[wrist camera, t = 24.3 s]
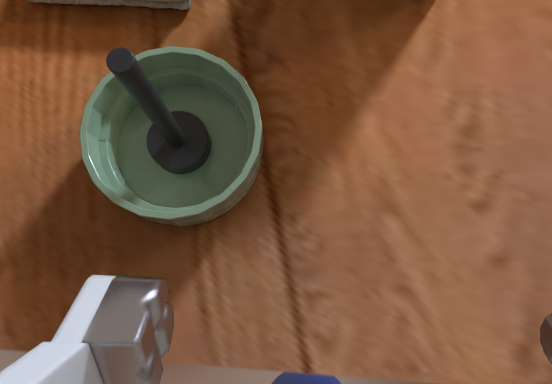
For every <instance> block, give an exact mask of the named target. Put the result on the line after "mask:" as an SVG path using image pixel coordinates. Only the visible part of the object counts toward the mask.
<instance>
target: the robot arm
mask: <svg viewBox="0 0 552 384" xmlns="http://www.w3.org/2000/svg"><path fill="white" fill-rule="evenodd" d="M168 294H169V286H168V282H167V279H164V278H151V277H133V276H106V275H92V276H91V277H89V278H88V279H87V280H86V281H85V283H84V285H83V286H82V288H81V290H80V292H79V293H78V295H77V297H76V298H75V300H74V302H73V304H72V305H71V307H70V309H69V311H68V312H67V314H66V316H65V318H64V319H63V321H62V323H61V325H60V326H59V328H58V330H57V332H56V333H55V335H54V337H53V339H52V340H51V342H42V343H40V344H39V345H38V346H36V347H35V348H33V349H32V350H31V351H29V352H28V353H26V354H25V355H23V356H22V357H21V358H19V359H18V360H17V361H15V362H14V363H12V364H11V365H9V366H8V367H7V368H5V369H4V370H2V371H1V372H0V384H159V383H160V380H161V376H162V373H163V368H162V363H161V357H163V356H164V355H165V354H166V353H167V352H168V351H169V348H170V344H171V340H172V334H173V326H174V314H173V308H172V305H171V304H170V303H168V302H167V298H168ZM540 341H541V345H542V348H543V351H544V353H545V354H546V356H547V358H548V360H549V361H550V363H551V364H552V313H551V314H550V315H548V316H547V317H545V319H544V321H543V323H542V325H541V327H540Z"/></svg>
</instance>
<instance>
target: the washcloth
mask: <svg viewBox="0 0 552 384" xmlns="http://www.w3.org/2000/svg"><path fill="white" fill-rule="evenodd" d="M27 1H28V2H30V1H31V2H35V3H37V2H40V3H41V2H44V3H50V4H51V3H52V4H53V3H59V4H76V5H78V4H83V5H84V4H86V5H87V4H88V5H93V4H95V5H100V6H102V5H103V6H104V5H117V6H119V5H121V4H123V5H126V6H133V7H134V6H146V7H150V8H156V9H157V8H164V9H166V8H174V9H180V10H186V9H191V0H27Z"/></svg>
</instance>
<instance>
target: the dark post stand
mask: <svg viewBox="0 0 552 384" xmlns="http://www.w3.org/2000/svg"><path fill="white" fill-rule="evenodd" d="M106 62H107V66H108V68H109V69H110V70H111V72H112V73H113V74H114V75H115V77H116V78H117V79H118V80H119V82H120V83H121V84H122V85H123V87H124V88H125V89H126V90H127V92H128V93H129V94H130V95H131V97H132V98H133V99H134V100H135V102H136V103H137V104H138V105H139V107H140V108H141V109H142V110H143V112H144V113H145V114H146V115H147V117H148V118H149V119H150V120H151V122H152V123H153V124H152V126H151V127H150V129H149V132H148V135H147V148H148V151H149V154H150V155H151V157H152V158H153V159H154V161H155V162H156V163H158V164H159V165H160V166H161V167H162V168H163V169H164V170H166V171H168V172H170V173H174V174H187V173H191V172H193V171H195V170H197V169H198V168H200V167H201V166H202V165H203V164H204V163H205V162H206V160H207V159H208V157H209V154H210V150H211V140H210V136H209V134H208V131H207V129H206V127H205V125H204V124H203V122H202V121H201V120H200V119H199V118H198V117H197V116H195V115H193V114H191V113H189V112H185V111H172V112H170V111H169V110H168V108H167V106H166V105H165V103H164V102H163V100H162V99H161V97H160V95H159V94H158V92H157V91H156V89H155V88H154V86H153V85H152V83H151V81H150V80H149V78H148V77H147V75H146V74H145V72H144V71H143V69H142V67H141V66H140V64H139V63H138V61H137V60H136V58H135V57H134V55H133V53H132V52H131V51H130V50H128V49H126V48H116V49H114V50H112V51H111V52H110V53H109V54H108V56H107V60H106Z"/></svg>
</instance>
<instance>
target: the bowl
mask: <svg viewBox="0 0 552 384" xmlns="http://www.w3.org/2000/svg"><path fill="white" fill-rule="evenodd" d="M134 57H135V58H136V60H137V61H138V63H139V64H140V66H141V67H142V69H143V71H144V72H145V74H146V75H147V77H148V78H149V80H150V81H151V83H152V85H153V86H154V88H155V89H156V91H157V92H158V94H159V95H160V97H161V99H162V100H163V102H164V103H165V105H166V106H167V108H168V110H169V111H170V112H172V111H185V112H189V113H191V114H193V115H195V116H197V117H198V118H199V119H200V120H201V121H202V122H203V124H204V125H205V127H206V129H207V131H208V134H209V136H210V140H211V150H210V154H209V157H208V159H207V160H206V162H205V163H204V164H203V165H202V166H201V167H200V168H198V169H197V170H195V171H193V172H191V173H187V174H174V173H170V172H168V171H166V170H164V169H163V168H162V167H161V166H160V165H159V164H158V163H156V162H155V161H154V159H153V158H152V157H151V155H150V154H149V151H148V148H147V135H148V132H149V129H150V127H151V126H152V124H153V123H152V122H151V120H150V119H149V118H148V117H147V115H146V114H145V113H144V112H143V110H142V109H141V108H140V107H139V105H138V104H137V103H136V102H135V100H134V99H133V98H132V97H131V95H130V94H129V93H128V92H127V90H126V89H125V88H124V87H123V85H122V84H121V83H120V82H119V80H118V79H117V78H116V77H115V75H114V74H113V73H112V72H110V73H109V74H107V75H106V76H105V77H104V78H103V79H102V80H101V81H100V82H99V84H98V85H97V87H96V89H95V90H94V92H93V94H92V95H91V97H90V99H89V100H88V102H87V104H86V106H85V110H84V114H83V118H82V123H81V127H80V142H81V152H82V160H83V162H84V164H85V166H86V168H87V170H88V172H89V174H90V177H91V179H92V181H93V183H94V184H95V185H96V186H97V187H98V188H99V189H100V190H101V191H102V192H103V193H104V194H105V195H106V196H107V197H108V198H109V199H110V200H111V201H112V202H113V203H114V204H116V205H118V206H120V207H122V208H124V209H126V210H128V211H130V212H132V213H135V214H137V215H139V216H141V217H143V218H146V219H148V220H150V221H152V222H155V223H158V224H166V225H174V226H181V227H182V226H188V225H193V224H199V223H204V222H209V221H211V220H212V219H214V218H216V217H218V216H220V215H222V214H224V213H226V212H227V211H229V210H231V209H232V208H233V207H234V206H235V205H236V204H237V203H238V202H239V201H240V200H241V199H242V198H243V197H244V196H245V195H246V194H247V193H248V192H249V190H250V188H251V186H252V184H253V182H254V180H255V178H256V176H257V174H258V172H259V170H260V168H261V161H262V154H263V146H264V142H263V130H262V122H261V117H260V112H259V107H258V102H257V99H256V97H255V96H254V94H253V92H252V90H251V89H250V87H249V85H248V84H247V82H246V80H245V78H244V77H243V76H242V75H241V74H239V73H238V72H237V71H236V70H235V69H234V68H233V67H231V66H230V65H229V64H228V63H227V62H226V61H224V60H223V59H221V58H218V57H216V56H214V55H212V54H209V53H207V52H205V51H202V50H200V49H193V48H185V47H176V46H170V47H165V48H159V49H153V50H147V51H144V52H142V53H140V54H138V55H136V56H134Z"/></svg>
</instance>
